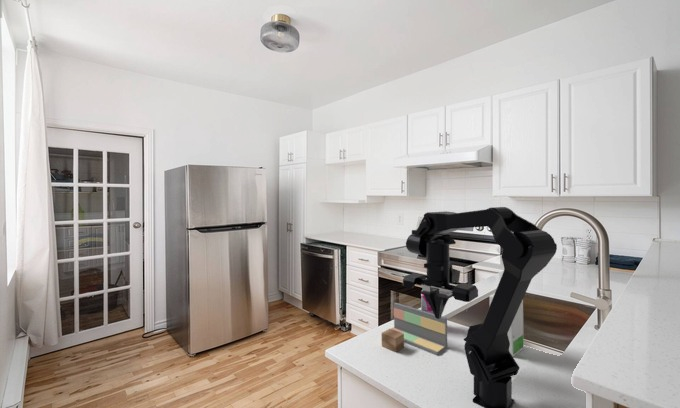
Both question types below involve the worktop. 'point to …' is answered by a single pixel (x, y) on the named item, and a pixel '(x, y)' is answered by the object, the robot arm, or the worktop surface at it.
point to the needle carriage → (392, 340)
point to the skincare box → (515, 331)
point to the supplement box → (425, 305)
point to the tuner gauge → (421, 328)
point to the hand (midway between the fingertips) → (438, 318)
